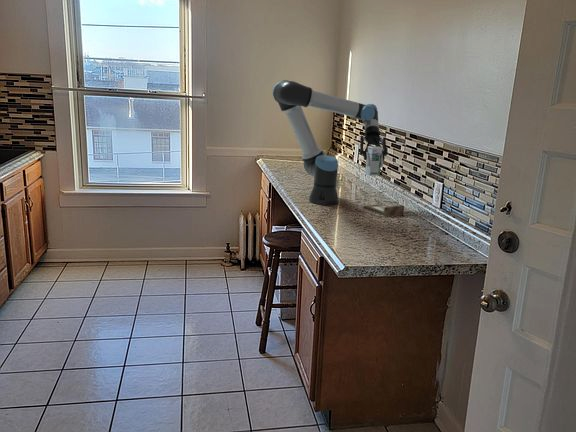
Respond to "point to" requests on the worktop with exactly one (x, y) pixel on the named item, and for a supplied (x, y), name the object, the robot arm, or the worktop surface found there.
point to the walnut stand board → (386, 209)
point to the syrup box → (374, 161)
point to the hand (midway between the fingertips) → (374, 165)
